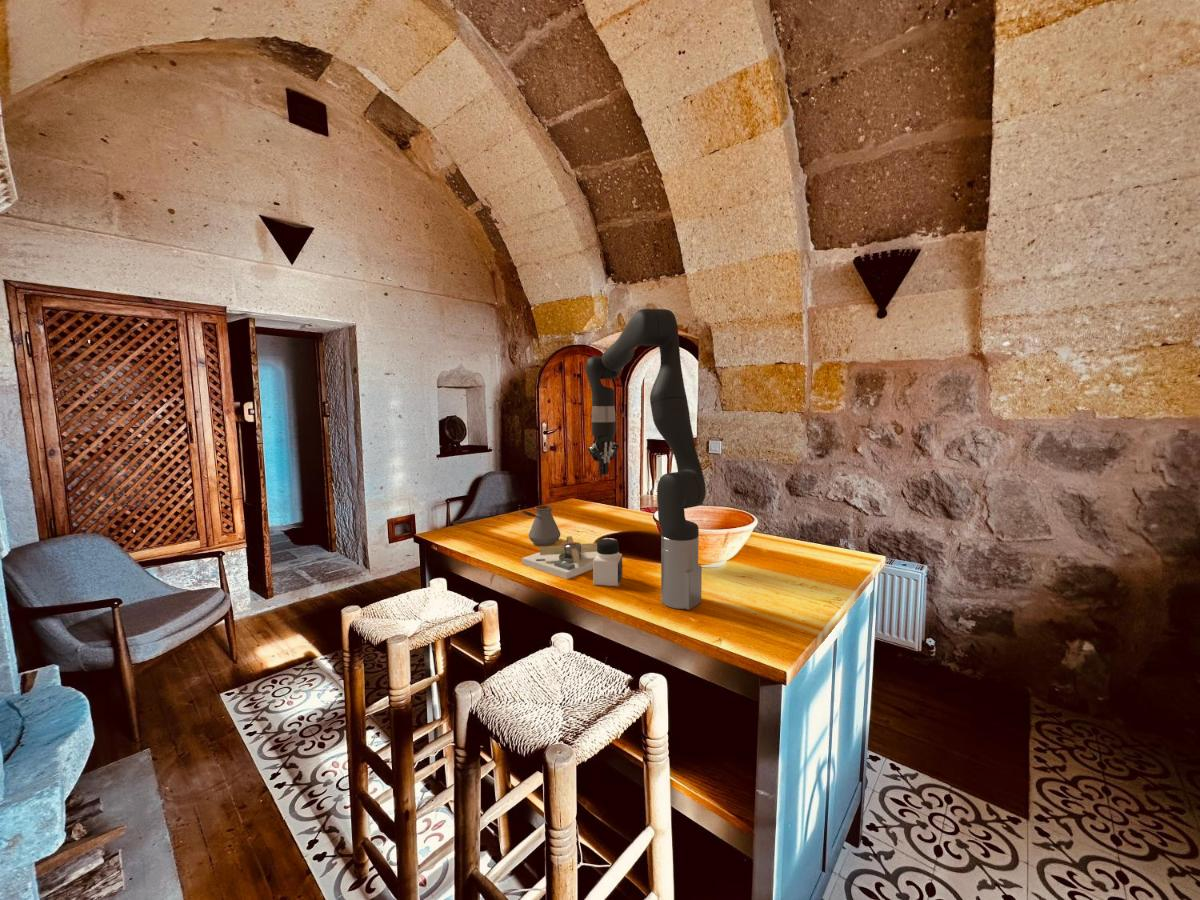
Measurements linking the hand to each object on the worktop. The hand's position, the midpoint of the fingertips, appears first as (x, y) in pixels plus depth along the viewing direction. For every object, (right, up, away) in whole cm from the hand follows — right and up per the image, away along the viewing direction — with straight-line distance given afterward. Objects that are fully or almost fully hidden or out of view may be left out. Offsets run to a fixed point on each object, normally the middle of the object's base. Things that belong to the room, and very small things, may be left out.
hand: (604, 474), depth 159 cm
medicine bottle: (+1, -30, -19) cm, 35 cm away
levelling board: (-12, -28, -3) cm, 30 cm away
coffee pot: (-23, -26, +14) cm, 38 cm away
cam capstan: (-10, -26, -6) cm, 28 cm away
